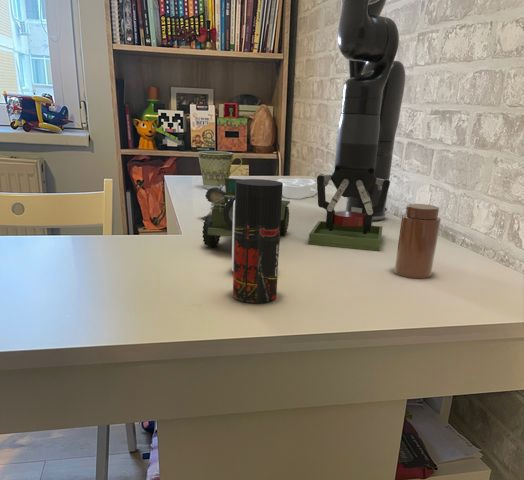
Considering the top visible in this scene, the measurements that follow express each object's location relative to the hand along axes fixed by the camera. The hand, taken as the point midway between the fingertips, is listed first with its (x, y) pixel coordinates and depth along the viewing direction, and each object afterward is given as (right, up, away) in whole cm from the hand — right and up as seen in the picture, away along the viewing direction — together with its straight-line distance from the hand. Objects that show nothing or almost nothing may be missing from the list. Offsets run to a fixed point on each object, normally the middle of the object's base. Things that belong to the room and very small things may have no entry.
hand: (347, 231), depth 109 cm
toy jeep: (-20, -3, -4) cm, 20 cm away
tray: (0, -2, +1) cm, 2 cm away
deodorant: (-18, -16, -33) cm, 41 cm away
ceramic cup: (-29, +24, +56) cm, 68 cm away
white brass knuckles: (-8, +22, +53) cm, 58 cm away
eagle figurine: (-25, +5, +14) cm, 30 cm away
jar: (+8, -11, -19) cm, 23 cm away
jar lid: (0, +3, -1) cm, 3 cm away
